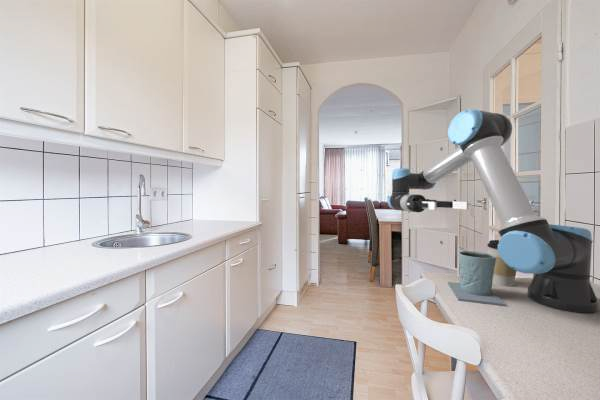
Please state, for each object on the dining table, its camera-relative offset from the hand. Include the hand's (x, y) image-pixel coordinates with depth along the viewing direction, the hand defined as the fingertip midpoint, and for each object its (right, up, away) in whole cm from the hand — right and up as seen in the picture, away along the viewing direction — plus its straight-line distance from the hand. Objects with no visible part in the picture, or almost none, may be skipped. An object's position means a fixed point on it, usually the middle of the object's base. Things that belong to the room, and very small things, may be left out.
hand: (451, 205), depth 96 cm
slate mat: (+2, -28, -9) cm, 30 cm away
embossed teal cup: (+4, -28, -8) cm, 29 cm away
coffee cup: (+19, -28, +2) cm, 34 cm away
